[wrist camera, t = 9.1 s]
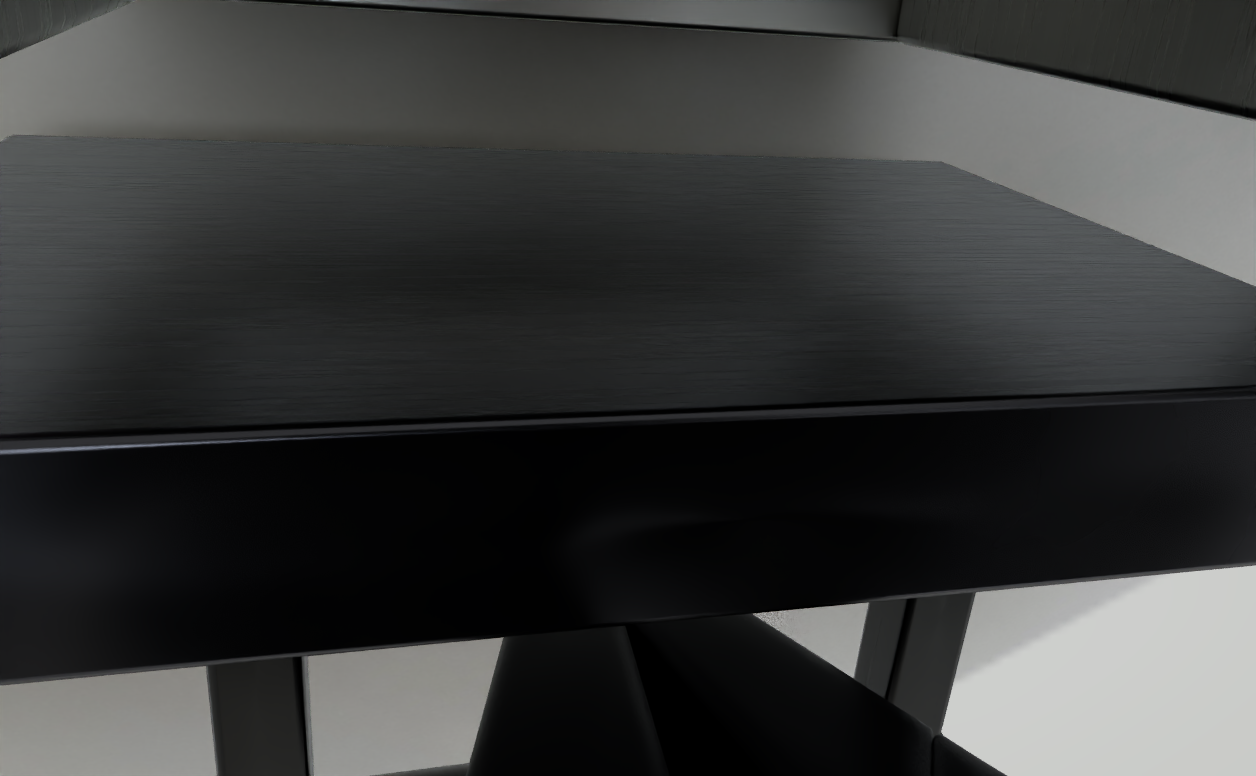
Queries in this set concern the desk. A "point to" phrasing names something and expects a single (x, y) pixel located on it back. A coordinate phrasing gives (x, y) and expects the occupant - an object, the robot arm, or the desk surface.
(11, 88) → the desk surface
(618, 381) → the drawer
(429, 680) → the desk surface
